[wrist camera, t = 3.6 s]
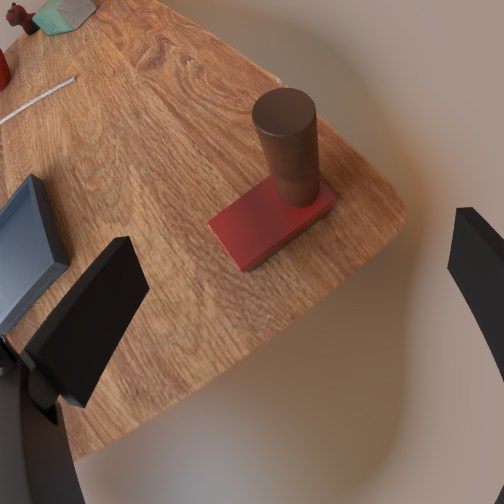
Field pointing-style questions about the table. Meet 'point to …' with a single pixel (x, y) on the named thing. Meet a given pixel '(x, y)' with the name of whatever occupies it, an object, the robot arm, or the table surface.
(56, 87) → the brush
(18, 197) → the tray
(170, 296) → the table surface
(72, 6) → the box
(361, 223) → the table surface
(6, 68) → the apple
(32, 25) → the stuffed fox
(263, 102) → the brown cylinder on base
